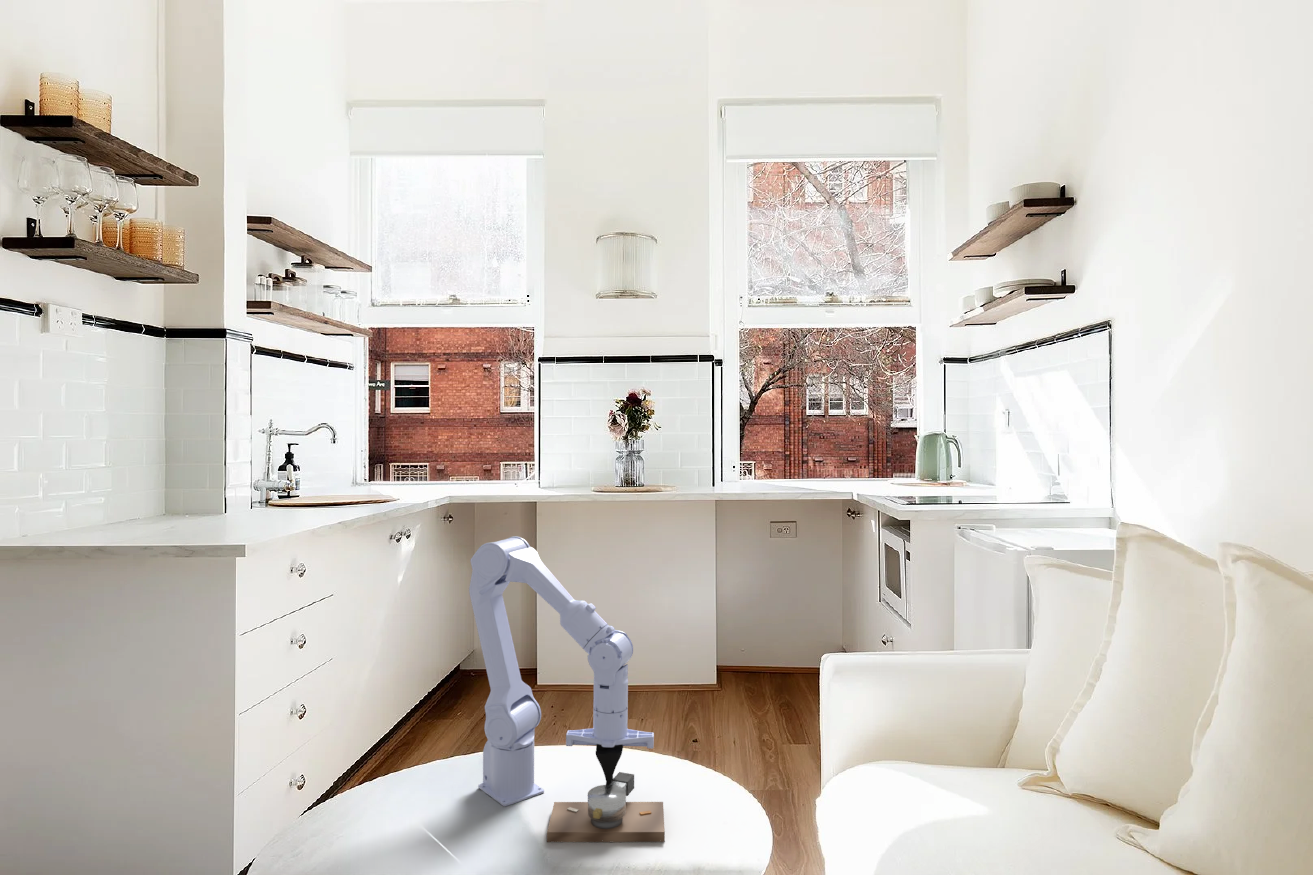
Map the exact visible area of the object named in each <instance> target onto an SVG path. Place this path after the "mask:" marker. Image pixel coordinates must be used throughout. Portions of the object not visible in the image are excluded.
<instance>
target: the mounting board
mask: <svg viewBox="0 0 1313 875" xmlns="http://www.w3.org/2000/svg"><path fill="white" fill-rule="evenodd" d="M664 810H665V809H664V801H626V814H625V816H624V817H623V818H621V819H619V820H617V821H613V822H599V821H595V820H593V819H591V818H590V817H589V816H588V801H554V802H553V806H552V810H551V813H550V819H549V823H548V826H547V830H546V843H630V842H631V843H643V842H645V843H646V842H647V843H652V842H653V843H654V842H655V843H658V842H659V843H660V842H661V843H664V842H665V836H666V835H665V832H666V831H665V817H664V816H665V815H664V814H665V812H664Z"/></svg>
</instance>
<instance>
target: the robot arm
mask: <svg viewBox="0 0 1313 875" xmlns="http://www.w3.org/2000/svg"><path fill="white" fill-rule="evenodd" d="M470 565H471V569H472V572H471V577H470V582H469V588H468V592H469V597H470V601H471V608H472V611H473V614H474V615H473V616H474V620H475V626H476V629H477V633H478V638H479V642H480V648H481V652H482V656H483V660H484V666H485V670H486V674H487V675H486V676H487V679H488V684H489V687H490V688H489V689H490V692H489V695H488V696H487V700H486V702H485V705H484V712H485V721H484V728H483V729H484V733H485V737H486V739H487V741H486V742H485V744H484V747H483V750H482V783H481V782H480V783H479V784H478V786H477V788H478V789H480V790H481V791H482V792H483V793H485V794H487V795H488V796H489V797H490V798H492V799H493V800H494V801H496V802H497V803H499V804H500V805H502V806H503V807H509V806H511V805H514V804H516V803H520V802H522V801H525V800H528V799H530V798H533V797H537V796H539V795H541V794H543V793H544V792H545V789H544V788H542V787H541V786H540V785H538V784H536V783H535V734H536V732H535V728H537V727H538V725H539V724H540V722H541V721H542V720H541V719H542V710H541V707H540V704H539V702H538V701H537V700H536V699H535V697H534V695H533V690H532V687H531V686H530V685H528V684H527V683H526V682H524V681H523V679H522V675H521V671H520V667H519V663H518V658H517V653H516V650H515V645H514V641H513V636H512V632H511V627H510V622H509V619H508V613H507V609H506V604H505V601H504V596H503V593H504V592H505V590H506V589H507V588H508V586H509V585H510V584H511V583H510V582H512V583H522V584H527V585H528V586H529V587H530V588H531V589H532V590H533V591H534V592H535V593H536V594H538V595H539V596H540V597H541V598H542V599H543V600H544V601H545V602H546V603H547V604H549V605H550V607H551V608H553V609H554V610H555V612H557V613H558V614H559V624H560V626H561V627H562V628H563V630H565V632H567V634H568V635H569V636H570V637H571V638H572V639H573V640H574V641H575V642H576V643H577V644H578V645H579V647H581V648H582V649H583V651H585V653H586V654H587V661H588V665H589V667H590V668H591V670H592V671H593V704H592V706H593V710H592V711H593V712H592V713H593V715H592V720H593V721H592V726H593V727H592V728H582V729H574V730H573V729H572V730H571V729H570V730H569V729H568V730H567V732H566V733H565V746H566V747H572V746H573V745H575V746H595V748H596V750H595V756H596V759H597V761H598V762H599V765H600V766H601V769H602V772H603V775H604V778H605V785H610V784H611V783H612V779H613V778H614V773H615V770H616V768H617V765H618V763H619V761H620V759H621V757H622V754H623V750H624V747H643V748H644V747H646V748H647V749H654V745H655V744H654V743H655V740H654V739H655V733H654V732H651V731H650V732H649V731H643V730H636V729H632V728H630V729H629V728H628V717H629V716H628V712H629V711H628V708H629V702H628V701H629V699H628V698H629V696H628V695H629V679H628V678H629V676H628V675H629V665H628V662H629V661H630V660H631V658H632V657H633V655H634V645H633V642H632V640H631V638H630V637H629V636H628V634H627V633H626V632H624V631H622V630H619V629H615V627H614V626H613V625H609V624H608V622H606V621H605V620H604V619H603V617H601V616H600V614H599V613H598V612H597V611H596V609H597V607H596V605H594V604H593V603H592V602H590V603H588V602H587V601H586V600H582V599H581V600H577V599H574V597H573V596H572V595H571V594H570V593H569V591H568V590H567V589H566V588H565V586H563V585H562V583H561V581H559V580H558V578H556V576H555V575H554V574H553V573H552V571H551V570H549V568H548V567H547V566H546V565H545V563H544V562H543V561H542V559H541V558H540V556H539V553H538V551H537V550H536V549H535V548H534V547H532V546H530V544H529V542H528V541H527V540H526V539H525V538H522V537H521V536H517V535H516V536H515V535H514V536H510V537H507V538H505V539H501V540H498V541H491V542H485V543H483V544H481V546H479V547H478V549H477V550H476V551H475V553H474V554H473V555H472V557H471V558H470Z"/></svg>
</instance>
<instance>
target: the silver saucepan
mask: <svg viewBox="0 0 1313 875" xmlns="http://www.w3.org/2000/svg"><path fill="white" fill-rule="evenodd" d="M634 789H635V774H634V773H628V772H621V771H619V772H618V773H617V774H616V775H615V776H613V779H612V783H611V784H610V785H606V784H601V785H596V786H594V787H592V788H590V789H589V790H588V792H587V802H588V816H589V817H590V818H591V819H593V820H595V821H599V822H613V821H617V820H619V819H621V818H623V817H624V816H625V814H626V802H627V797H629V795H631V793H632V792H633V791H634Z"/></svg>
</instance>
